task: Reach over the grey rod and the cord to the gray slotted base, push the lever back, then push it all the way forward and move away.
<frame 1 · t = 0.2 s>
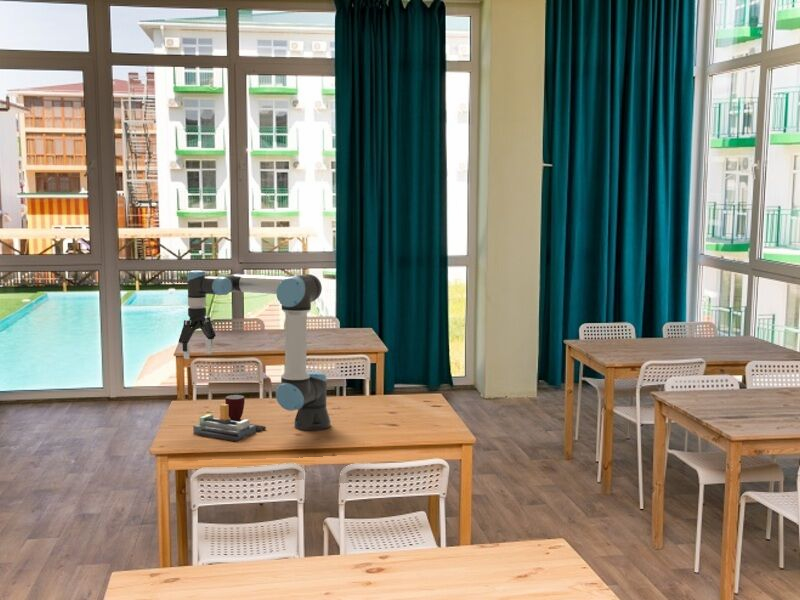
hand: (197, 356, 374), 28 cm above the table, fingers open, 13 cm apart
lever: (224, 414, 356), point 8 cm above the table, slide at 5.0 cm
cord c: (217, 438, 350), on the table
cord b: (240, 426, 367), on the table
gray slotted base: (224, 433, 357), on the table
grey rod: (237, 427, 365), on the table
mug: (232, 420, 377), on the table
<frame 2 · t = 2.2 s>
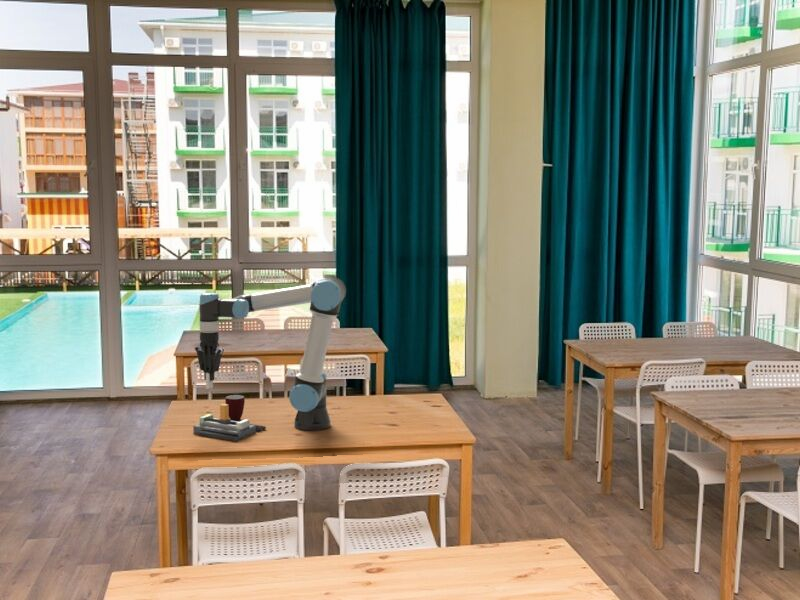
hand: (209, 388, 358), 18 cm above the table, fingers closed
nothing on the table moved.
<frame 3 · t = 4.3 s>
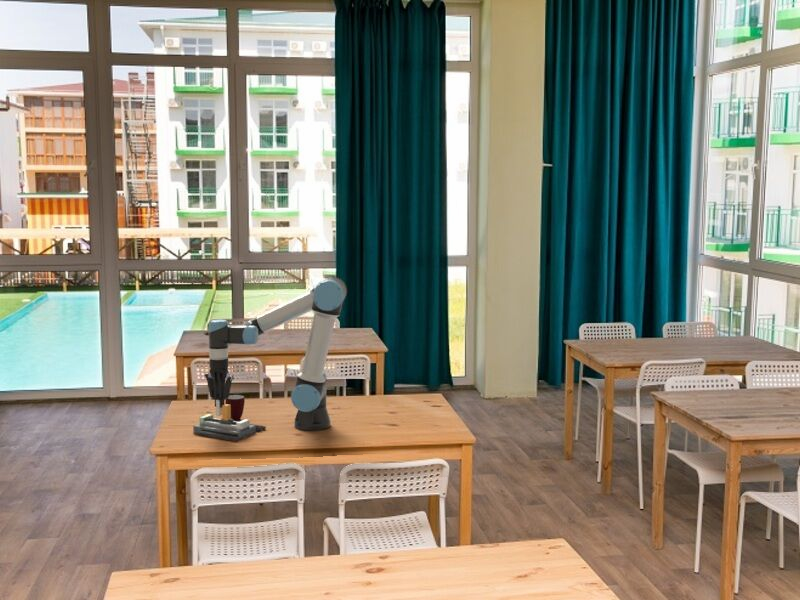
hand: (219, 414, 357), 7 cm above the table, fingers closed
lever: (226, 415, 356), point 8 cm above the table, slide at 4.0 cm, touching gripper
everything else where it was.
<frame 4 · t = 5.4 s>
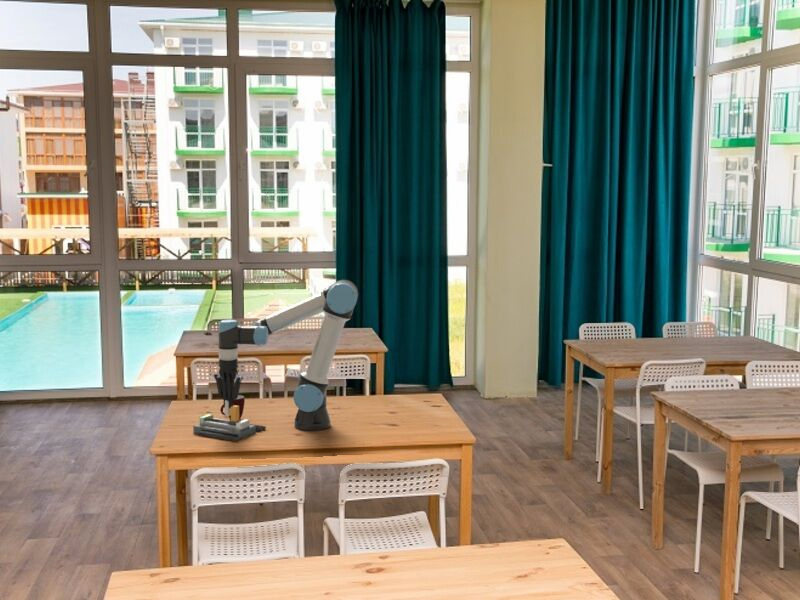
hand: (228, 415, 356), 8 cm above the table, fingers closed
lever: (235, 416, 354), point 8 cm above the table, slide at -0.2 cm, touching gripper
everything else where it was.
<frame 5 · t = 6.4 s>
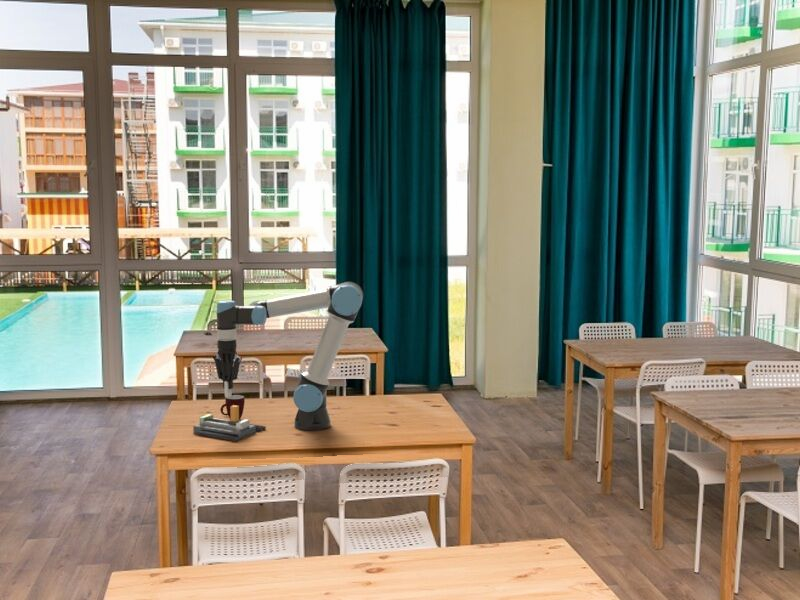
hand: (228, 396, 355), 15 cm above the table, fingers closed
lever: (234, 416, 354), point 8 cm above the table, slide at 0.0 cm
everything else where it was.
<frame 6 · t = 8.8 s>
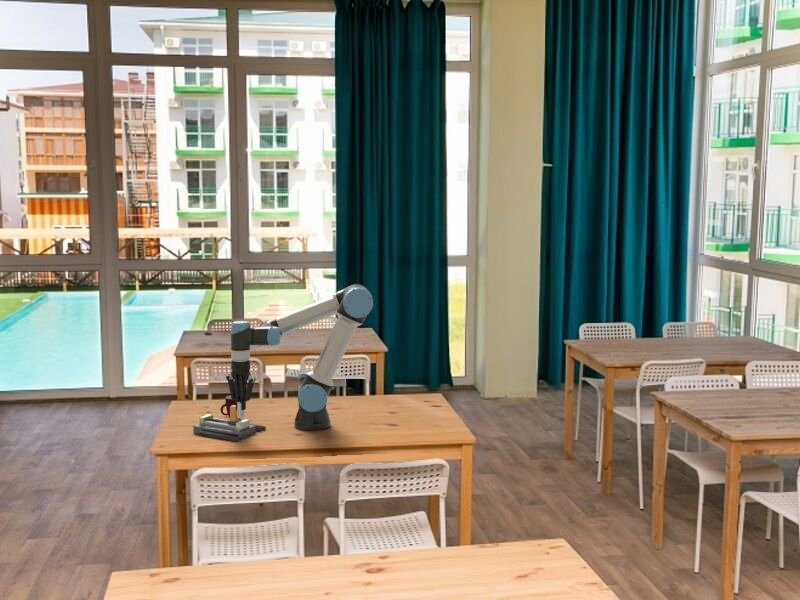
hand: (240, 417, 353), 8 cm above the table, fingers closed
lever: (234, 416, 354), point 8 cm above the table, slide at 0.2 cm, touching gripper
everything else where it was.
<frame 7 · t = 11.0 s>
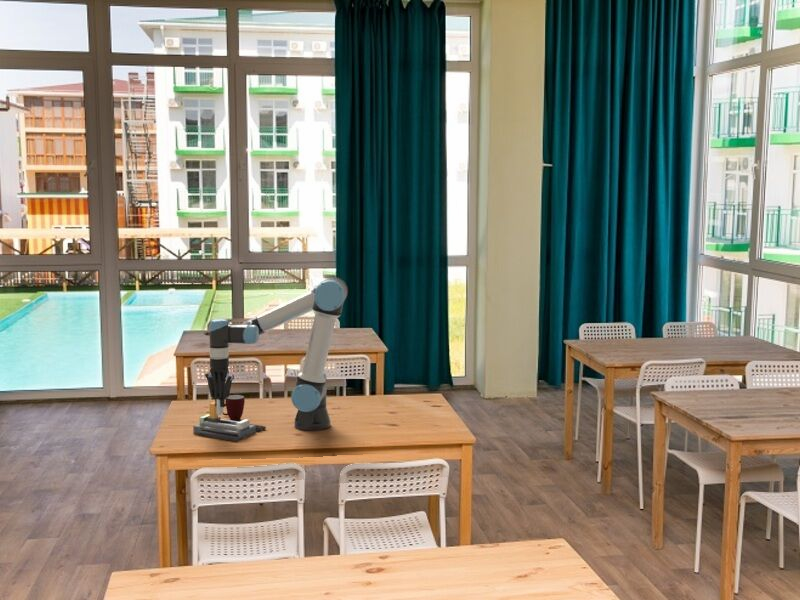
hand: (220, 414, 357), 8 cm above the table, fingers closed
lever: (213, 413, 359), point 8 cm above the table, slide at 10.3 cm, touching gripper
everything else where it was.
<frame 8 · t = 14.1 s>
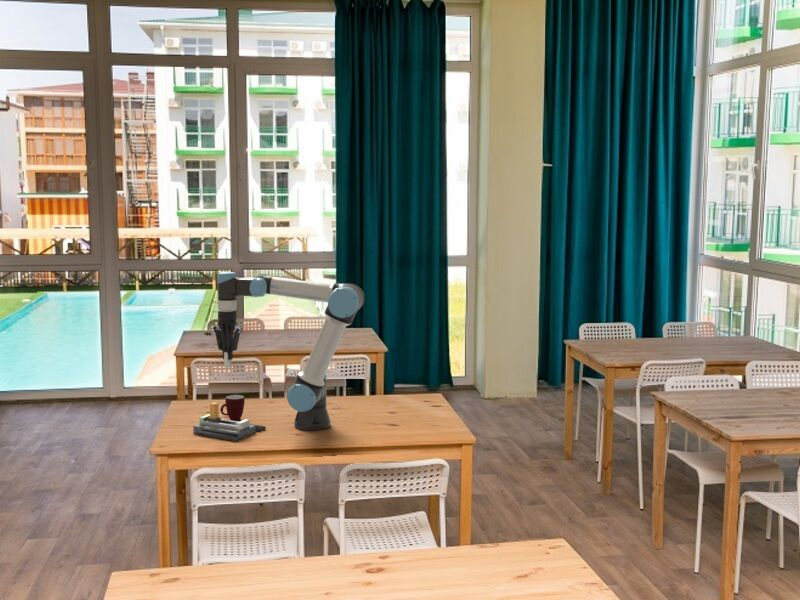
hand: (227, 367, 358), 26 cm above the table, fingers closed
lever: (214, 413, 358), point 8 cm above the table, slide at 10.0 cm
everything else where it was.
at the end: lever slide at 10.0 cm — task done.
